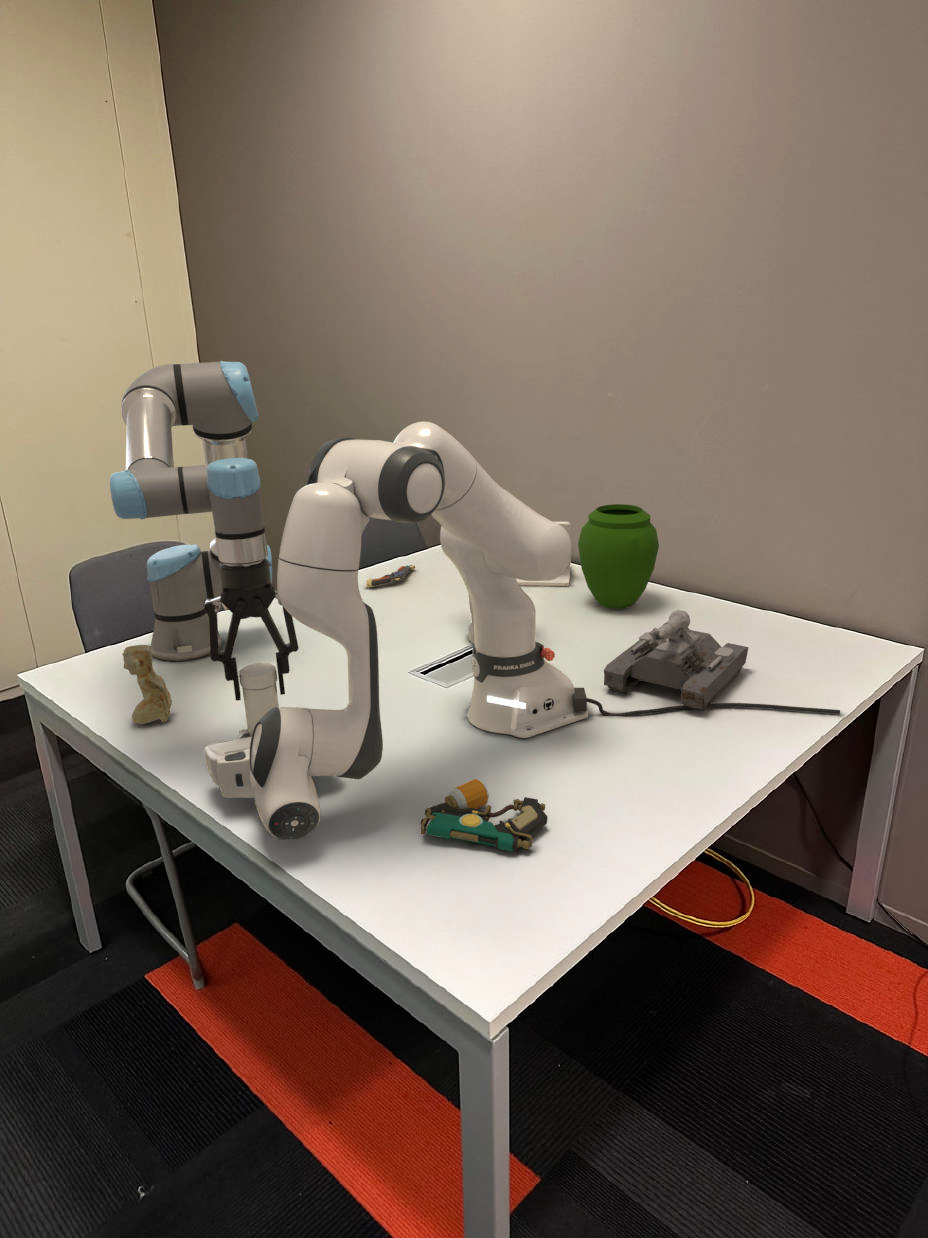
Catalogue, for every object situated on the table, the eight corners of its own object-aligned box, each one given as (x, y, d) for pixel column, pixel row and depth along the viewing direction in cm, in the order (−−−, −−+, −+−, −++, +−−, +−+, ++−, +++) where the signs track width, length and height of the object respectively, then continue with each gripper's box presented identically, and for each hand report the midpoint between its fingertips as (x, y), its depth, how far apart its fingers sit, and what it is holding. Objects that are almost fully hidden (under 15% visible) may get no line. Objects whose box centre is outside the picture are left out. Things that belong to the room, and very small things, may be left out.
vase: (599, 587, 227) (601, 497, 218) (668, 600, 216) (673, 505, 208) (562, 608, 212) (564, 513, 204) (634, 623, 202) (639, 523, 193)
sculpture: (138, 714, 164) (124, 642, 159) (176, 711, 165) (164, 639, 159) (130, 728, 159) (116, 654, 153) (170, 725, 159) (157, 651, 154)
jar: (276, 752, 149) (265, 662, 143) (290, 764, 145) (280, 672, 139) (247, 762, 146) (235, 671, 140) (261, 775, 142) (249, 682, 136)
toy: (655, 649, 187) (658, 584, 181) (746, 669, 176) (753, 600, 170) (602, 692, 167) (604, 620, 162) (701, 717, 156) (707, 641, 151)
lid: (267, 671, 144) (265, 659, 143) (283, 682, 140) (282, 670, 139) (234, 681, 141) (232, 669, 140) (249, 693, 136) (248, 680, 136)
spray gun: (558, 822, 128) (509, 880, 116) (464, 786, 136) (409, 838, 124) (560, 798, 126) (510, 855, 114) (464, 764, 134) (409, 814, 122)
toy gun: (363, 580, 231) (399, 577, 228) (382, 564, 248) (415, 561, 246) (365, 590, 231) (400, 587, 229) (384, 573, 249) (417, 570, 247)
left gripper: (304, 548, 138) (317, 677, 147) (180, 559, 134) (200, 692, 142) (308, 560, 132) (321, 695, 140) (177, 573, 127) (198, 712, 135)
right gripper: (341, 737, 134) (323, 702, 146) (207, 764, 128) (199, 724, 140) (344, 772, 136) (326, 734, 149) (212, 800, 130) (205, 758, 142)
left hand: (260, 693), depth 141 cm, fingers open, 6 cm apart
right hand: (264, 729), depth 144 cm, fingers closed on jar, 5 cm apart
